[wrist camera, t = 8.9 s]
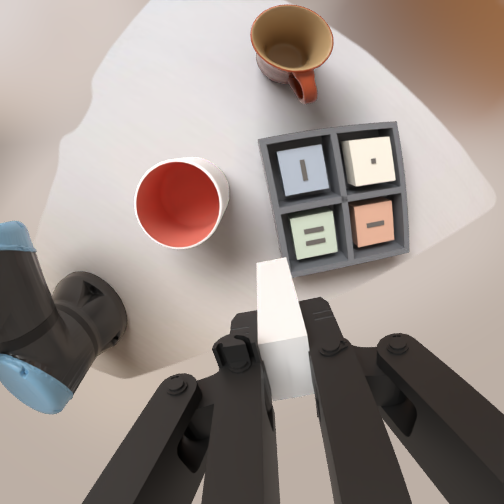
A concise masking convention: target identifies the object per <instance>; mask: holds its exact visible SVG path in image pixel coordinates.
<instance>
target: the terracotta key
mask: <svg viewBox="0 0 504 504" xmlns="http://www.w3.org/2000/svg"><path fill="white" fill-rule="evenodd" d="M348 207H349V215H350V223H351V232H352V241H353V242H354V243H355V244H356V245H357V246H358V247H362V246H367V245H372V244H376V243H381V242H386V241H390V240H394V226H393V212H392V201H391V200H389V199H387V198H384V197H382V196H381V197H375V198H369V199H363V200H357V201H352V202H348Z"/></svg>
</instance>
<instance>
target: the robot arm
mask: <svg viewBox="0 0 504 504" xmlns="http://www.w3.org/2000/svg"><path fill="white" fill-rule="evenodd" d="M126 324H127V318H126V312H125V309H124V306H123V304H122V302H121V300H120V298H119V296H118V295H117V293H116V292H115V291H114V290H113V289H112V287H111V286H110V285H109V284H107V283H106V282H105V281H104V280H102V279H101V278H99V277H98V276H96V275H93V274H91V273H87V272H73V273H71V274H69V275H67V276H66V277H65V278H64V279H62V280H61V281H60V282H59V283H58V285H57V286H56V288H55V290H54V292H53V294H52V296H51V294H50V291H49V289H48V286H47V284H46V281H45V278H44V276H43V273H42V270H41V267H40V264H39V261H38V258H37V255H36V249H35V248H34V247H33V244H32V241H31V239H30V236H29V233H28V230H27V228H26V226H25V225H24V224H23V223H22V222H19V221H10V222H5V223H1V224H0V381H1V383H2V384H3V385H4V386H5V387H6V388H7V390H8V391H10V392H11V393H12V394H13V395H14V396H15V397H16V398H17V399H19V400H20V401H22V402H23V403H24V404H26V405H27V406H29V407H31V408H32V409H34V410H37V411H39V412H42V413H45V414H57V413H59V412H61V411H62V410H63V408H64V407H65V405H66V404H67V403H68V401H69V400H70V399H72V398H73V395H74V393H75V391H76V389H77V388H78V386H79V384H80V383H81V381H82V379H83V378H84V376H85V374H86V373H87V371H88V370H89V368H90V366H91V365H92V363H93V361H94V360H95V358H96V357H97V356H98V355H100V354H101V353H103V352H105V351H106V350H108V349H110V348H111V347H113V346H114V345H115V344H116V343H117V342H118V341H119V340H120V338H121V337H122V335H123V334H124V332H125V329H126ZM212 350H213V353H214V355H215V358H216V361H217V363H218V366H219V372H217V373H216V374H214V375H212V376H210V377H207V378H204V379H201V380H198V381H196V379H195V378H194V377H193V376H192V375H189V374H185V373H184V374H176V375H173V376H170V377H169V378H167V379H165V380H164V381H163V382H162V383H161V384H160V386H159V387H158V389H157V390H156V392H155V393H154V395H153V396H152V398H151V399H150V401H149V402H148V404H147V405H146V407H145V408H144V410H143V411H142V413H141V414H140V416H139V417H138V419H137V420H136V422H135V423H134V425H133V426H132V428H131V430H130V431H129V433H128V434H127V436H126V437H125V439H124V440H123V442H122V443H121V445H120V446H119V448H118V449H117V451H116V452H115V454H114V455H113V457H112V458H111V460H110V461H109V463H108V464H107V466H106V468H105V469H104V471H103V472H102V474H101V475H100V477H99V478H98V480H97V481H96V483H95V484H94V486H93V487H92V489H91V490H90V492H89V493H88V495H87V497H86V498H85V500H84V501H83V503H82V504H191V503H192V501H193V499H194V496H195V494H196V492H197V490H198V487H199V485H200V483H201V480H202V478H203V476H204V473H205V479H204V486H203V495H202V503H201V504H280V494H279V478H278V461H277V444H276V429H275V413H274V409H273V406H272V399H273V401H276V400H282V399H288V398H295V397H300V396H305V395H310V394H315V399H316V408H317V417H319V421H320V427H321V432H322V437H323V442H324V448H325V452H326V458H327V464H328V469H329V475H330V481H331V486H332V492H333V498H334V504H412V502H411V499H410V496H409V493H408V490H407V487H406V484H405V481H404V478H403V475H402V472H401V469H400V466H399V463H398V460H397V458H396V455H395V452H394V449H393V446H392V444H391V441H390V438H389V436H388V433H387V430H386V428H385V425H384V422H383V420H384V421H385V422H386V424H387V425H388V426H389V427H390V429H391V430H392V431H393V432H394V434H395V435H396V436H397V438H398V439H399V440H400V441H401V443H402V444H403V445H404V446H405V448H406V449H407V450H408V452H409V453H410V454H411V455H412V457H413V458H414V459H415V460H416V462H417V463H418V464H419V465H420V467H421V468H422V469H423V471H424V472H425V473H426V474H427V476H428V477H429V478H430V480H431V481H432V482H433V483H434V485H435V486H436V487H437V488H438V490H439V491H440V492H441V494H442V495H443V496H444V497H445V499H446V500H447V501H448V502H449V504H504V414H503V413H501V412H500V411H499V410H498V409H497V408H496V407H495V406H494V405H492V404H491V403H490V402H489V401H488V400H487V399H486V398H485V397H483V396H482V395H481V394H480V393H479V392H477V391H476V390H475V389H474V388H473V387H472V386H471V385H470V384H468V383H467V382H466V381H465V380H464V379H463V378H461V377H460V376H459V375H458V374H457V373H455V372H454V371H453V370H452V369H451V368H450V367H448V366H447V365H446V364H445V363H443V362H442V361H441V360H440V359H439V358H438V357H436V356H435V355H434V354H433V353H432V352H430V351H429V350H428V349H427V348H425V347H424V346H423V345H422V344H421V343H419V342H418V341H417V340H416V339H414V338H413V337H411V336H409V335H407V334H402V333H397V334H390V335H387V336H385V337H384V338H382V339H381V340H380V341H379V343H378V344H377V347H357V346H353V345H351V343H350V342H349V341H348V340H347V339H345V338H343V335H342V333H341V331H340V328H339V326H338V324H337V321H336V319H335V317H334V315H333V312H332V310H331V308H330V305H329V303H328V302H327V301H326V300H324V299H323V298H321V297H318V298H313V299H308V300H303V301H298V298H297V295H296V291H295V287H294V284H293V280H292V276H291V273H290V269H289V266H288V262H287V259H286V257H284V258H279V259H274V260H269V261H264V262H259V263H257V310H256V311H250V312H244V313H238V314H237V315H236V316H235V317H234V318H233V320H232V321H231V330H230V334H229V335H226V336H224V337H222V338H220V339H219V340H218V341H217V342H216V343H214V346H213V348H212ZM382 418H383V420H382Z"/></svg>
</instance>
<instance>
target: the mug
mask: <svg viewBox="0 0 504 504" xmlns="http://www.w3.org/2000/svg"><path fill="white" fill-rule="evenodd" d="M250 36H251V42H252V45H253V48H254V50H255V51H256V60H257V64H258V66H259V68H260V70H261V71H262V73H263V74H264V75H265V76H266V77H267V78H269V79H270V80H272V81H274V82H277V83H280V84H289V86H290V87H291V89H292V90H293V91H294V93H295V95H296V97H297V99H298V100H299V102H300V103H302V104H311V103H313V102H315V101H316V100H317V97H318V93H317V87H316V84H315V73H314V69H315V68H318V67H320V66H321V65H322V64H323V63H324V62H325V61H326V60H327V59H328V58H329V56H330V54H331V52H332V49H333V35H332V32H331V29H330V27H329V26H328V24H327V23H326V22H325V21H324V20H323V18H321V16H319V15H318V14H316V13H315V12H313V11H312V10H310V9H307V8H305V7H301V6H297V5H279V6H275V7H272V8H269V9H267V10H265V11H264V12H262V13H261V14H260V15H259V16H258V17H257V18H256V19H255V21H254V23H253V25H252V28H251V34H250Z"/></svg>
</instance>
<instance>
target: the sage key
mask: <svg viewBox="0 0 504 504" xmlns="http://www.w3.org/2000/svg"><path fill="white" fill-rule="evenodd" d="M287 215H288V221H289V226H290V232H291V237H292V243H293V249H294V253H295V255H296V258H297V260H299V259H304V258H309V257H314V256H319V255H324V254H328V253H333V252H338V250H337V242H336V233H335V226H334V218H333V211H332V210H331V209H329V208H328V207H327V206H324V207H318V208H313V209H308V210H303V211H297V212H292V213H287Z"/></svg>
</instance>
